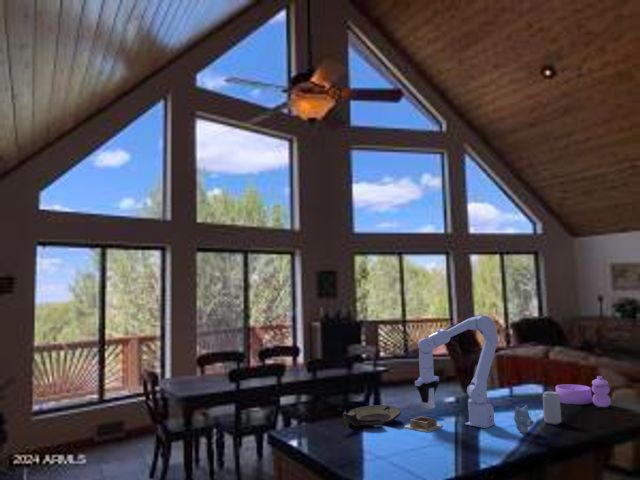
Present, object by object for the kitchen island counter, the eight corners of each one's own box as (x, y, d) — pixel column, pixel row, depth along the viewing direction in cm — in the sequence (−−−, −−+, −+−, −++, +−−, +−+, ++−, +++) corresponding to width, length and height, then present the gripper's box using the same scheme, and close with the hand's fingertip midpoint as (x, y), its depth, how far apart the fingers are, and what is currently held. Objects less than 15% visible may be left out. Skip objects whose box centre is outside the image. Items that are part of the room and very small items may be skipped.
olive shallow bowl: (413, 425, 218) (412, 406, 219) (348, 435, 206) (347, 415, 207) (385, 414, 239) (384, 396, 239) (324, 423, 227) (324, 404, 227)
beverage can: (543, 424, 213) (541, 393, 214) (545, 420, 219) (543, 390, 220) (560, 425, 210) (558, 394, 212) (562, 421, 216) (559, 391, 217)
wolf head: (526, 437, 196) (524, 409, 197) (511, 431, 205) (509, 404, 206) (540, 435, 198) (538, 407, 199) (525, 429, 206) (523, 403, 207)
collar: (442, 426, 214) (442, 418, 215) (427, 432, 207) (427, 424, 207) (419, 422, 222) (419, 414, 222) (404, 427, 214) (403, 420, 215)
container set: (549, 400, 255) (547, 372, 256) (569, 396, 263) (567, 369, 264) (600, 410, 233) (597, 379, 235) (619, 405, 241) (617, 375, 242)
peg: (435, 407, 218) (434, 387, 219) (429, 409, 215) (428, 389, 216) (426, 406, 221) (425, 386, 222) (421, 407, 218) (420, 387, 219)
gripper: (428, 364, 227) (429, 397, 226) (408, 369, 217) (409, 403, 216) (442, 366, 222) (444, 399, 221) (422, 370, 212) (424, 405, 211)
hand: (428, 401), depth 218 cm, fingers closed on peg, 4 cm apart
